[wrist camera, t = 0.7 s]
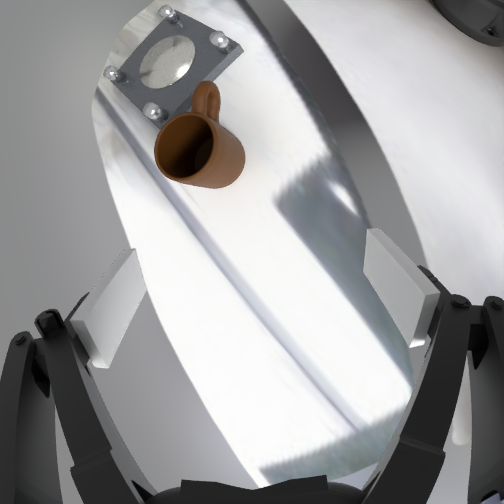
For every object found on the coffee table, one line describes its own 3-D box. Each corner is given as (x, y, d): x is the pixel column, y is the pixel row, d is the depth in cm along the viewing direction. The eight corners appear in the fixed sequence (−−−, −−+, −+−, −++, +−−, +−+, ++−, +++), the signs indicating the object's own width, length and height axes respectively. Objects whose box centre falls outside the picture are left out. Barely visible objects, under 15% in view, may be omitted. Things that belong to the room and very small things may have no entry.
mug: (206, 101, 35) (171, 74, 26) (259, 104, 33) (235, 73, 25) (187, 185, 37) (146, 178, 28) (240, 194, 36) (209, 187, 27)
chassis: (180, 15, 35) (165, 0, 30) (244, 51, 33) (232, 33, 28) (117, 84, 39) (98, 75, 34) (167, 132, 37) (147, 123, 33)
